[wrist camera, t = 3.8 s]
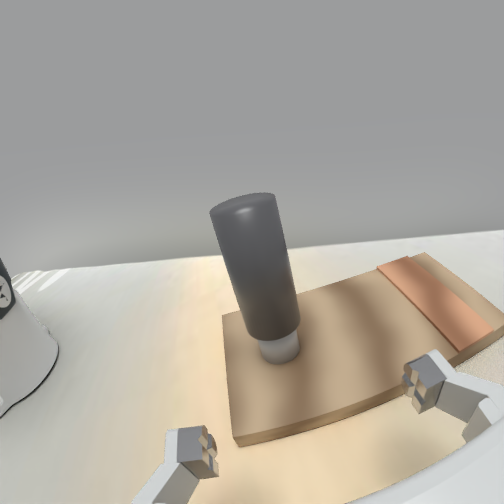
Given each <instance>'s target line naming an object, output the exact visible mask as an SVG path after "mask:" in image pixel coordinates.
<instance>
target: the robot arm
mask: <svg viewBox="0 0 504 504" xmlns="http://www.w3.org/2000/svg"><path fill="white" fill-rule="evenodd" d="M57 353H58V344H57V342H56V340H55V339H54V338H52V337H51V336H50V335H49V330H48V329H47V327H46V326H45V325H41V324H40V323H39V321H38V320H37V318H36V317H35V316H34V314H33V313H32V311H31V310H30V309H29V307H28V306H27V304H26V303H25V301H24V300H23V299H22V297H21V296H20V294H19V293H18V292H17V291H16V290H14V289H13V288H12V285H11V278H10V276H9V274H8V272H7V269H6V267H5V265H4V264H3V262H2V260H1V258H0V416H1V415H2V414H4V413H5V411H6V410H7V409H8V408H9V407H10V406H12V405H13V404H14V403H16V402H18V401H19V400H21V399H22V398H24V397H25V396H27V395H28V394H29V393H30V392H32V391H33V390H34V389H35V388H36V387H37V386H38V385H39V384H40V383H41V382H42V380H43V379H44V378H45V377H46V375H47V374H48V373H49V371H50V369H51V368H52V366H53V364H54V362H55V360H56V357H57ZM403 370H404V372H405V373H404V374H403V376H402V380H401V383H402V388H403V390H404V392H405V394H406V395H407V396H408V397H411V398H412V405H413V406H414V408H415V409H416V411H417V413H418V414H420V413H422V412H424V411H426V410H428V409H430V408H432V407H434V406H435V407H436V408H438V409H440V410H442V411H444V412H446V413H448V414H450V415H452V416H454V417H456V418H458V419H460V420H462V421H464V422H466V423H467V425H466V427H465V428H464V430H463V432H462V436H463V438H464V439H465V441H466V444H465V445H463V446H462V447H460V448H459V449H457V450H456V451H454V452H452V453H451V454H449V455H448V456H446V457H444V458H443V459H441V460H439V461H438V462H436V463H434V464H432V465H431V466H429V467H427V468H425V469H423V470H421V471H419V472H418V473H416V474H414V475H412V476H410V477H408V478H406V479H404V480H402V481H399V482H397V483H395V484H393V485H391V486H388V487H386V488H384V489H382V490H379V491H377V492H374V493H372V494H369V495H367V496H364V497H362V498H359V499H356V500H353V501H351V502H348V503H345V504H504V387H503V385H501V384H497V383H494V382H491V381H488V380H485V379H481V378H478V377H475V376H472V375H469V374H466V373H463V372H460V371H459V372H458V373H457V372H456V371H455V370H454V369H453V367H452V366H451V365H450V364H449V363H448V362H447V360H446V359H445V358H444V357H443V356H442V355H441V353H440V352H439V351H438V350H436V349H434V350H432V351H430V352H428V353H426V354H423V355H421V356H419V357H417V358H415V359H413V360H411V361H409V362H407V363H405V365H404V367H403ZM216 456H217V447H216V443H215V440H214V438H213V436H212V435H211V434H208V432H207V428H206V427H205V426H204V425H202V426H195V427H187V428H178V429H170V430H167V432H166V439H165V455H164V464H160V466H159V467H158V468H157V470H156V471H155V472H154V473H153V475H152V476H151V477H150V479H149V480H148V481H147V483H146V484H145V485H144V486H143V488H142V489H141V490H140V492H139V493H138V494H137V495H136V497H135V498H134V499H133V500H132V504H187V503H188V501H189V499H190V497H191V495H192V494H193V492H194V490H195V488H196V486H197V485H198V483H199V481H200V480H199V479H207V478H214V477H219V469H218V463H217V462H216V460H215V457H216Z"/></svg>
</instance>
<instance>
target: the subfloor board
mask: <svg viewBox="0 0 504 504" xmlns="http://www.w3.org/2000/svg"><path fill="white" fill-rule="evenodd" d="M296 296H297V301H298V307H299V312H300V317H301V320H300V324H299V326H298V327H297V329H296V331H297V336H298V341H299V346H300V350H299V353H298V355H297V356H296V357H295V358H294V359H293V360H291V361H289V362H287V363H284V364H271V363H269V362H267V361H266V360H265V359H264V358H263V356H262V353H261V350H260V347H259V343H258V340H257V339H255V338H253V337H252V336H250V335H249V333H248V332H247V329H246V326H245V323H244V320H243V317H242V314H241V311H236V312H232V313H228V314H225V315H222V323H223V336H224V349H225V361H226V373H227V384H228V395H229V406H230V416H231V425H232V435H233V438H234V440H235V442H236V443H237V445H238V446H239V447H242V446H247V445H252V444H257V443H262V442H266V441H270V440H275V439H279V438H283V437H286V436H290V435H294V434H297V433H301V432H305V431H308V430H311V429H315V428H318V427H321V426H324V425H327V424H330V423H333V422H336V421H339V420H342V419H345V418H347V417H350V416H353V415H355V414H358V413H361V412H363V411H366V410H368V409H371V408H373V407H376V406H378V405H380V404H383V403H385V402H387V401H390V400H392V399H394V398H396V397H398V396H401V395H403V394H405V392H404V390H403V388H402V383H401V380H402V376H403V374H404V373H405V372H404V370H403V367H404V365H405V363H407V362H409V361H411V360H413V359H415V358H417V357H419V356H421V355H423V354H426V353H428V352H430V351H432V350H434V349H436V350H438V351H439V352H440V353H441V355H442V356H443V357H444V358H445V359H446V360H447V362H448V363H449V364H450V365H451V366H452V367H453V368H454V367H456V366H457V365H459V364H461V363H462V362H464V361H466V360H467V359H469V358H471V357H472V356H474V355H475V354H477V353H478V352H480V351H481V350H483V349H484V348H486V347H487V346H489V345H490V344H492V343H493V342H495V341H496V340H498V339H499V338H500V337H502V336H503V335H504V314H503V313H502V312H501V311H500V310H499V309H498V308H496V307H495V306H494V305H493V304H492V303H490V302H489V301H488V300H487V299H486V298H484V297H483V296H482V295H481V294H479V293H478V292H477V291H476V290H474V289H473V288H472V287H471V286H469V285H468V284H467V283H465V282H464V281H463V280H462V279H460V278H459V277H458V276H456V275H455V274H454V273H452V272H451V271H450V270H448V269H447V268H446V267H444V266H443V265H442V264H440V263H439V262H437V261H436V260H435V259H433V258H432V257H431V256H429V255H428V254H426V253H425V252H424V253H421V254H418V255H416V256H413V257H410V258H409V257H408V256H406V257H403V258H400V259H397V260H395V261H392V262H389V263H386V264H383V265H380V266H377V269H375V270H373V271H370V272H367V273H364V274H360V275H357V276H354V277H351V278H348V279H345V280H342V281H339V282H336V283H333V284H329V285H326V286H323V287H320V288H316V289H313V290H310V291H307V292H303V293H300V294H297V295H296Z"/></svg>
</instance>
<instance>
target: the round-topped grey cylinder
mask: <svg viewBox="0 0 504 504" xmlns="http://www.w3.org/2000/svg"><path fill="white" fill-rule="evenodd" d="M210 217H211V220H212V223H213V226H214V230H215V232H216V236H217V239H218V242H219V246H220V249H221V252H222V255H223V258H224V262H225V265H226V268H227V271H228V274H229V277H230V280H231V283H232V286H233V290H234V293H235V296H236V299H237V302H238V305H239V308H240V311H241V314H242V317H243V320H244V323H245V326H246V329H247V332H248V333H249V335H250V336H252V337H253V338H255V339H257V340H258V343H259V347H260V350H261V353H262V356H263V358H264V359H265V360H266V361H267V362H269V363H271V364H284V363H287V362H289V361H291V360H293V359H294V358H295V357H296V356H297V355H298V353H299V350H300V346H299V341H298V336H297V331H296V329H297V327H298V326H299V324H300V320H301V317H300V312H299V307H298V301H297V296H296V291H295V286H294V282H293V277H292V272H291V267H290V262H289V257H288V253H287V248H286V244H285V239H284V234H283V230H282V225H281V221H280V217H279V212H278V207H277V203H276V198H275V195H274V194H271V193H253V194H248V195H243V196H239V197H236V198H232V199H230V200H227V201H225V202H222V203H221V204H218V205H217V206H215V207H214V208H212V209H211V211H210Z"/></svg>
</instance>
